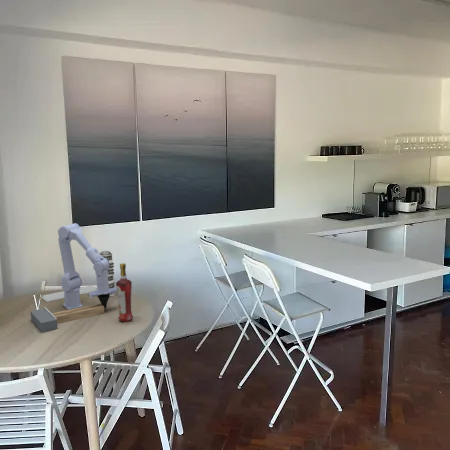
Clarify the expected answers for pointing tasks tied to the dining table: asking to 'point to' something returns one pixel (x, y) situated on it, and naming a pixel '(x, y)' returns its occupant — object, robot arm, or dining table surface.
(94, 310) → the oak plank
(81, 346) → the dining table surface
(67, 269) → the robot arm
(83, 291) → the baseboard
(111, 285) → the white tower model
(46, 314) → the groove block
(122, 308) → the liquor
